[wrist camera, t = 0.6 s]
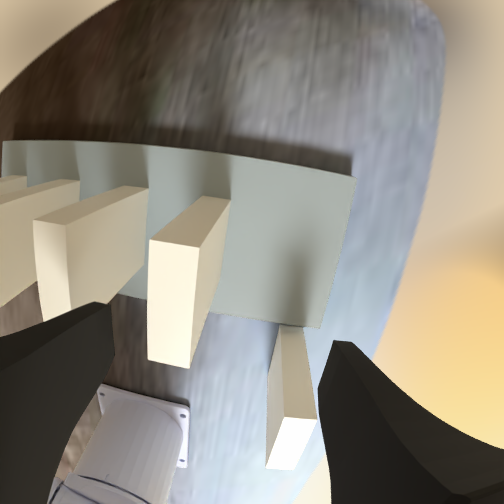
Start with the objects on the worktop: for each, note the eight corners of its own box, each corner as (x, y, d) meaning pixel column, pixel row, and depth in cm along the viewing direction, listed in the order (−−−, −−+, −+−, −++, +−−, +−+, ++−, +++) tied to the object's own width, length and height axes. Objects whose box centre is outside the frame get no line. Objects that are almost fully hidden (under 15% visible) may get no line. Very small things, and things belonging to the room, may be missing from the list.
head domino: (288, 378, 22) (293, 469, 14) (267, 375, 22) (265, 467, 14) (302, 327, 20) (317, 419, 13) (279, 324, 20) (283, 417, 13)
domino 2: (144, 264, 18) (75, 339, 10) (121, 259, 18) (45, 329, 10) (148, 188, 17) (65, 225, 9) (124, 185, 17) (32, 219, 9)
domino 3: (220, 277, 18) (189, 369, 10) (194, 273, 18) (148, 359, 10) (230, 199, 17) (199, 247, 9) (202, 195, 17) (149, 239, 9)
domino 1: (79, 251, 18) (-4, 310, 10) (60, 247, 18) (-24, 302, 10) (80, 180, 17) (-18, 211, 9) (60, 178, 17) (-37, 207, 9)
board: (317, 318, 20) (319, 328, 19) (15, 259, 20) (6, 264, 19) (351, 175, 17) (357, 178, 16) (13, 140, 17) (3, 141, 16)
